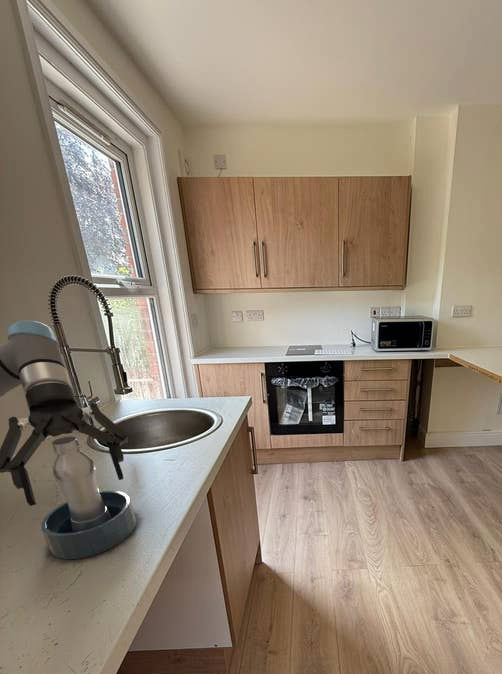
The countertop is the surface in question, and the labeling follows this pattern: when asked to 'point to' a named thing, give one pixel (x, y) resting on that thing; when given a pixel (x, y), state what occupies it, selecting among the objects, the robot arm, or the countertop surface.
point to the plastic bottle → (78, 484)
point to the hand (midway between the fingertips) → (79, 489)
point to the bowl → (94, 539)
